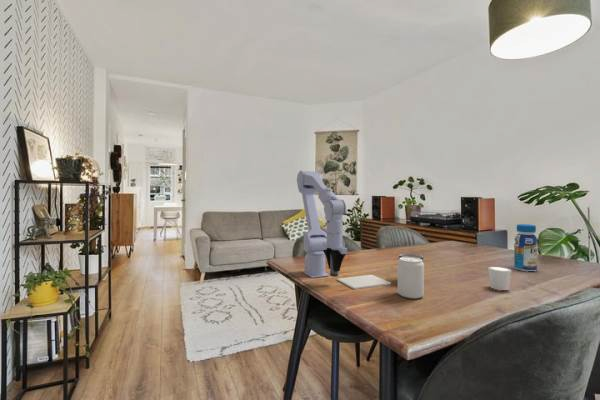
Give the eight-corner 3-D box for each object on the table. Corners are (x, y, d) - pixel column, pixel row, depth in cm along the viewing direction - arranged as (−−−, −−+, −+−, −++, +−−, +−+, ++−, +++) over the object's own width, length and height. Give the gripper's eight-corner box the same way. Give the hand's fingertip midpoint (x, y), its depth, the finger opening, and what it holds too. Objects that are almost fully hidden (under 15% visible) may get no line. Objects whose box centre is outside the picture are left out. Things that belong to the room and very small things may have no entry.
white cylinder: (507, 286, 108) (507, 267, 108) (514, 292, 101) (514, 271, 101) (485, 284, 110) (485, 265, 110) (490, 290, 104) (491, 270, 103)
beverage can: (421, 301, 92) (421, 263, 92) (394, 296, 97) (395, 259, 96) (425, 294, 99) (426, 258, 99) (400, 289, 103) (401, 255, 103)
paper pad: (337, 280, 115) (337, 278, 115) (371, 276, 121) (371, 274, 121) (354, 289, 104) (354, 287, 104) (391, 284, 110) (391, 282, 110)
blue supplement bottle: (516, 266, 138) (516, 223, 138) (539, 269, 132) (540, 224, 131) (511, 269, 132) (512, 224, 132) (535, 273, 126) (536, 226, 126)
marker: (328, 274, 109) (328, 253, 109) (335, 274, 111) (336, 252, 110) (332, 277, 107) (332, 254, 106) (340, 276, 108) (340, 254, 108)
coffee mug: (425, 285, 108) (425, 258, 108) (400, 284, 110) (400, 257, 109) (419, 277, 119) (419, 252, 119) (396, 276, 121) (396, 251, 121)
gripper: (316, 231, 113) (315, 266, 114) (334, 236, 100) (334, 276, 100) (332, 230, 116) (332, 264, 116) (352, 235, 103) (352, 274, 103)
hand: (334, 269), depth 109 cm, fingers closed on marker, 3 cm apart
